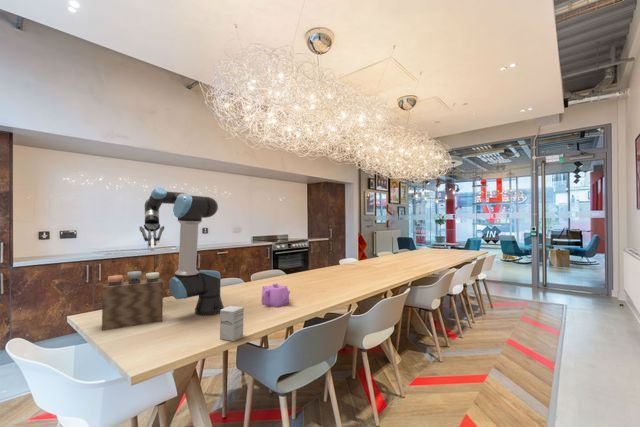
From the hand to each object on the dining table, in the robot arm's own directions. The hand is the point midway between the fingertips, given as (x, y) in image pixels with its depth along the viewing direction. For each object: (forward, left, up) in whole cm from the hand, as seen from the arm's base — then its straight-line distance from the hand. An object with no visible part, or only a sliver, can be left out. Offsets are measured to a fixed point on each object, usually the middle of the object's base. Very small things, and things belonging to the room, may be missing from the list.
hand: (152, 249), depth 163 cm
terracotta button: (+16, -10, -16) cm, 25 cm away
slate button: (+13, -3, -14) cm, 19 cm away
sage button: (+9, +4, -16) cm, 19 cm away
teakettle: (-14, +67, -36) cm, 77 cm away
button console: (+13, -3, -36) cm, 38 cm away
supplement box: (+38, +50, -36) cm, 72 cm away
